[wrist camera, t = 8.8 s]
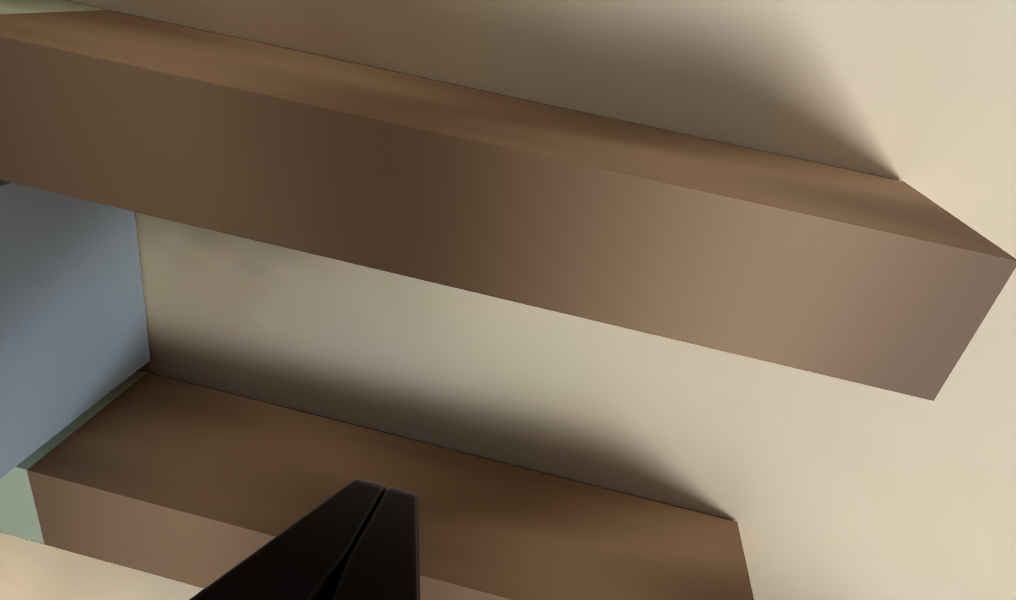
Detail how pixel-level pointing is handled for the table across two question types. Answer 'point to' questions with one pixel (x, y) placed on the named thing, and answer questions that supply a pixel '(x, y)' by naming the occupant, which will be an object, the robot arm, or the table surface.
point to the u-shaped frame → (457, 263)
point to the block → (63, 312)
